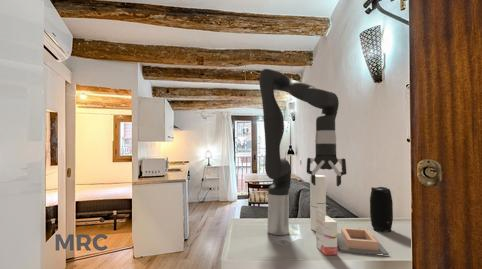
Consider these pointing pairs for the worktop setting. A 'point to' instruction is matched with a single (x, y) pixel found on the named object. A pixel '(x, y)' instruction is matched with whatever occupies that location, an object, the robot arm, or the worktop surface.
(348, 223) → the worktop surface
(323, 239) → the ink cartridge box
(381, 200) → the portable speaker
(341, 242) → the dock
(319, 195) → the cylindrical container
